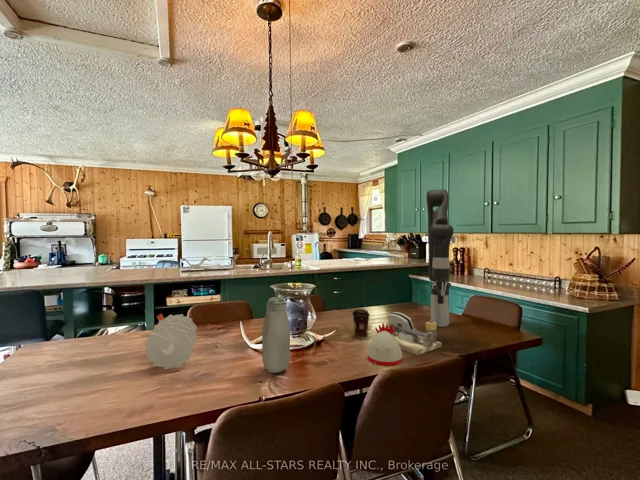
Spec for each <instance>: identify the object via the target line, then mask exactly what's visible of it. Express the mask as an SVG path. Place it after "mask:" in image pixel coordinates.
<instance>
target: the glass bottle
mask: <svg viewBox="0 0 640 480" xmlns="http://www.w3.org/2000/svg"><path fill="white" fill-rule="evenodd" d="M287 306H288V303H287V302H286V300H285V298H284V297H283V296H273V297H270V298H269V299H268V300H267V301H266V306H265V307H266V311H265V316H264V321H263V324H262V328H261V329H262V330H261V347H262V349H261V350H262V351H261V352H262V355H261V356H262V363H263V367H264V368H265V370H266V371H267V372H269V373H271V374H279V373H282V372H283V371H284V370H286V369H287V367H288V366H289V363H290V360H291V325H290V320H289V317H288V310H287V309H288V307H287Z"/></svg>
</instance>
